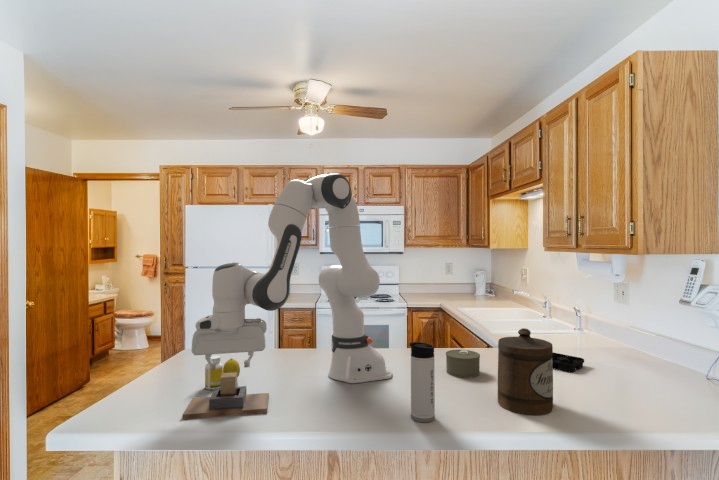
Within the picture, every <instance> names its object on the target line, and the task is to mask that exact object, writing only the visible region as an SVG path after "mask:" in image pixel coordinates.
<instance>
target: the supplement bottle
mask: <svg viewBox="0 0 719 480" xmlns="http://www.w3.org/2000/svg"><path fill="white" fill-rule="evenodd" d="M211 359H212V361H213V362H216V369H215V370H210V364H209V363H208V362H207V364H206V365H205V366H204V367H205V368H204V386H205V387H204V388H205V389H206V390H212V391H214V389H215V388H221V376H222V374H223V367H224V364H223V363H221V356H220V355H212V356H211Z"/></svg>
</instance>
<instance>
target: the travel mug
mask: <svg viewBox="0 0 719 480" xmlns="http://www.w3.org/2000/svg"><path fill="white" fill-rule="evenodd" d="M408 345H409V347H410V418H411V419H412V420H413V421H414V422H417V423H431V422H433V421H434V420H435V418H436V415H435V414H436V412H435V411H436V409H435V405H436V404H435V394H436V393H435V391H436V389H435V347H434V346H433V345H432V344H429V343H426V342H419V341H418V342H417V341H415V342H414V341H413V342H412V341H411V342H409V344H408Z"/></svg>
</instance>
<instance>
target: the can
mask: <svg viewBox="0 0 719 480" xmlns="http://www.w3.org/2000/svg"><path fill="white" fill-rule="evenodd" d="M480 357H481V355H480V353H479V352H476V351H473V350H469V349H452V350H448V351H446V352H445V359H446V362H445V365H446V366H445V367H446V370H445V372H446V373H447V374H448V375H449V376H451V377H454V378H455V377H456V378H461V379H462V378H463V379H471V378H472V379H473V378H477V377H478V376H480V371H481V370H480V367H481V366H480V361H481V360H480Z"/></svg>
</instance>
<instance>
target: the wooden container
mask: <svg viewBox="0 0 719 480" xmlns="http://www.w3.org/2000/svg"><path fill="white" fill-rule="evenodd" d="M517 333H518V336H505V337H501V338H499V339H498V341H497V342H498V344H497V347H498V350H497V351H498V352H497V354H498V355H497V356H498V357H497V359H498V360H497V403H498V404H499V406H500V407H501V408H503V409H504V410H507V411H510V412H513V413H516V414H520V415H527V416H541V415H547V414H549V413H551V412H552V411H553V409H554V369H553V361H552V355H553V353H554V351H553V349H554V347H553V344H552V342H550V341H548V340H545V339H540V338H535V337H531V335H532V334H531V333H532V332H531V330H530V329H528V328H522V327H521V328H520V329H518V331H517Z"/></svg>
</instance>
